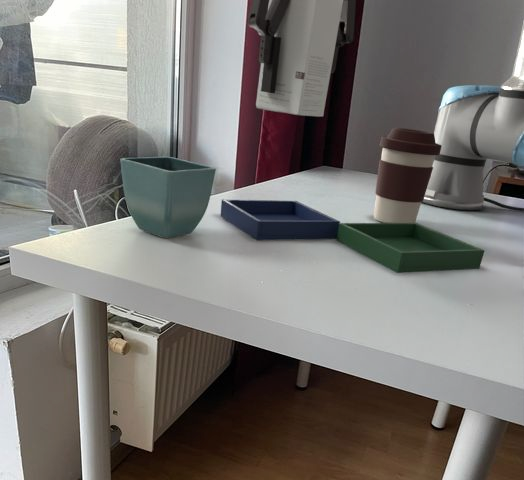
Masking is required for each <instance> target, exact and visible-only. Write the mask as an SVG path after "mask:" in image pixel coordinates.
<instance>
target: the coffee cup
mask: <svg viewBox="0 0 524 480" xmlns="http://www.w3.org/2000/svg"><path fill="white" fill-rule="evenodd" d="M379 147H380V148H382V150H381V157H380V159H379V162H378V169H377V178H376V185H375V202H374V209H373V218H374V220H376V221H377V222H379V223H416V221H417V217H418V215H419V212H420V208H421V205H422V203H423V202H422V201H423V199H424V196H425V193H426V190H427V186H428V183H429V180H430V177H431V173H432V170H433V167H432V166H433V162H434V159H435V156H436V155H439V154H440V151H441V147H442V146H441V145H440V144H437V143H435V136H434V132H430V131H426V130H419V129H412V128H402V127H393V128H392V129H391V131H389V134H388V135H387V136H385V135H384V136H381V137H380V141H379Z"/></svg>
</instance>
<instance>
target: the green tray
mask: <svg viewBox="0 0 524 480" xmlns="http://www.w3.org/2000/svg"><path fill="white" fill-rule="evenodd" d="M335 240H336V242H338V243H340V244H342V245H344V246H346V247H347V248H348V249H349V248H350V249H351V250H353V251H355V252H357V253H359V254H361V255H363V256H365V257H366V258H368V259H371V260H372V261H374V262H376V263H378V264H380V265H381V266H384V267H386V268H387V269H389V270H391V271H393V272H395V273H398V274H400V273H401V274H404V273H421V272H422V273H424V272H440V271H442V272H443V271H462V270H479V269H481V264H482V261H483V258H484V255H485V249H483V248H480V247H479V246H478V247H477V246H476V245H472V244H470V243H467V242H466V241H462V240H460V239H457V238H455V237H453V236H450V235H448V234H445V233H442V232H440V231H438V230H435V229H432V228H430V227H427V226H424V225H422V224H420V223H417V222H415V223H383V222H340V223H339V229H338V235H337V239H335Z"/></svg>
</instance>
